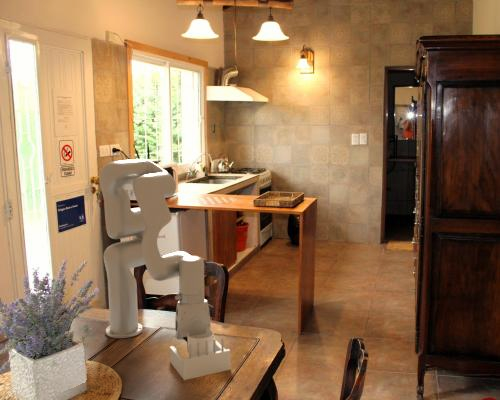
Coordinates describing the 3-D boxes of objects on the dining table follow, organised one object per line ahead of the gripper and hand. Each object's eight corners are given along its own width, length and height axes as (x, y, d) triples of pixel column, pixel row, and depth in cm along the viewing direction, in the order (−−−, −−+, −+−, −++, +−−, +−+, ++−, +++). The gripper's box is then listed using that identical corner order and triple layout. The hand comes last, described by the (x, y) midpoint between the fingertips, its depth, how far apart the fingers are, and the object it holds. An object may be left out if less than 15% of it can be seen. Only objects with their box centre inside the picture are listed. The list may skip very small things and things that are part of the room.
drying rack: (170, 362, 165) (169, 330, 164) (213, 352, 171) (213, 322, 170) (184, 380, 154) (183, 346, 152) (230, 369, 160) (230, 337, 159)
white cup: (213, 371, 159) (212, 338, 158) (186, 371, 159) (185, 338, 158) (214, 359, 167) (214, 328, 166) (189, 359, 167) (188, 328, 165)
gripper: (172, 304, 158) (173, 364, 161) (219, 297, 164) (220, 354, 167) (164, 297, 164) (165, 354, 167) (210, 290, 171) (210, 345, 174)
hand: (193, 354), depth 167 cm, fingers closed
